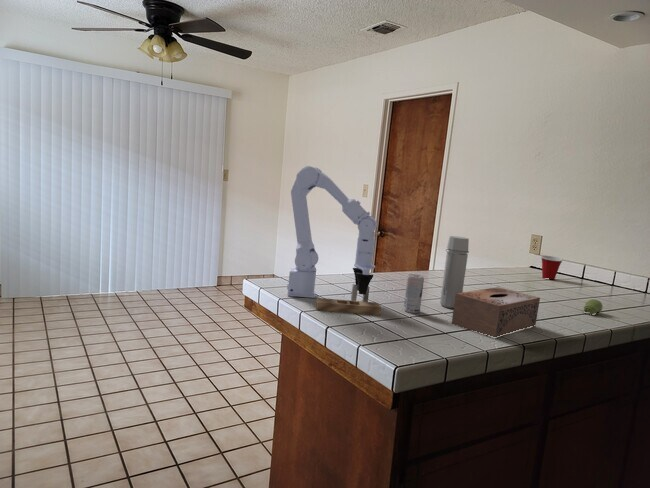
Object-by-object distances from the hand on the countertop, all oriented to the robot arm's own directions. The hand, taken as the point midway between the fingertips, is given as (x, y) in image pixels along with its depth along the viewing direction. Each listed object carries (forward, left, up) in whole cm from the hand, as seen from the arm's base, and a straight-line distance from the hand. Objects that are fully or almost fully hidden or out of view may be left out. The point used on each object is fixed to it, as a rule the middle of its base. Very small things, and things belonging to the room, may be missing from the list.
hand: (360, 291), depth 153 cm
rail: (-5, -10, -4) cm, 12 cm away
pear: (+92, +13, -4) cm, 93 cm away
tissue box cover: (+41, -14, -5) cm, 44 cm away
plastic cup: (+114, +82, -4) cm, 140 cm away
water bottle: (+33, +5, -4) cm, 34 cm away
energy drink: (+17, -5, -4) cm, 18 cm away
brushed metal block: (0, 0, -4) cm, 4 cm away
